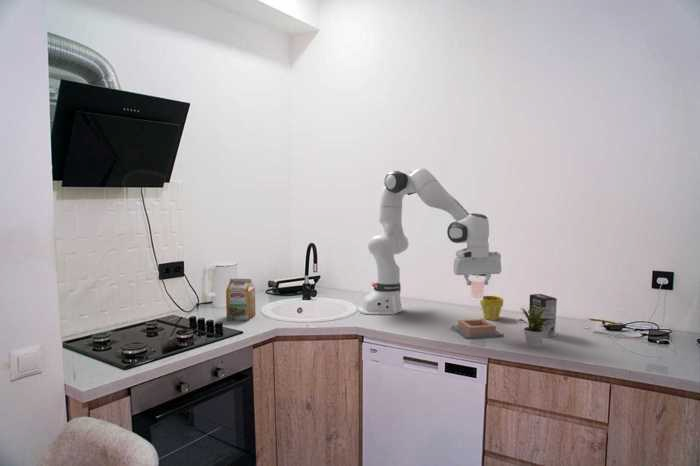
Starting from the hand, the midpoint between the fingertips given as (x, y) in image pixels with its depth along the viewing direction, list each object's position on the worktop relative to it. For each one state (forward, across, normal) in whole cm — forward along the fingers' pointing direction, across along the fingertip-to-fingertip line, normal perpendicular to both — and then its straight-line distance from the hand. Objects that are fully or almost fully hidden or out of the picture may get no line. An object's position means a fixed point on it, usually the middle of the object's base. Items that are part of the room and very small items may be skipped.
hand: (477, 284), depth 193 cm
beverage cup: (+7, 0, 0) cm, 7 cm away
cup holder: (+20, 0, 0) cm, 20 cm away
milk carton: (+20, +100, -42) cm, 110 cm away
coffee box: (+21, -26, +7) cm, 34 cm away
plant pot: (+21, -17, -20) cm, 33 cm away
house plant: (+21, -13, +20) cm, 32 cm away
